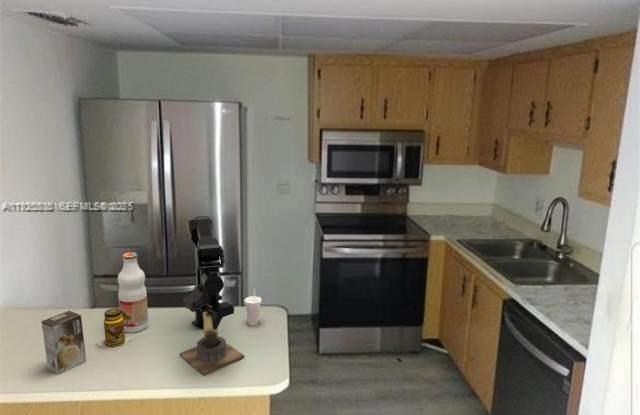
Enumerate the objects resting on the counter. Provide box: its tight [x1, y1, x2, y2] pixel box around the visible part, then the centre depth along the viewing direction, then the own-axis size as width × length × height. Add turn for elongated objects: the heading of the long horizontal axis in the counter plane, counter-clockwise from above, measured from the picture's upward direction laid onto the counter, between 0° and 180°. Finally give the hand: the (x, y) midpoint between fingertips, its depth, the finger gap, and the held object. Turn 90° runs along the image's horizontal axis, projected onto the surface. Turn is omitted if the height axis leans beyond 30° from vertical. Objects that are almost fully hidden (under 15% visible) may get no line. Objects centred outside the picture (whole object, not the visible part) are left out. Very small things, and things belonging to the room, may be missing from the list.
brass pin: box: [203, 308, 219, 340], centre depth 153 cm, size 4×4×9 cm
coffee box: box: [41, 310, 87, 375], centre depth 147 cm, size 9×6×16 cm
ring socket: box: [179, 336, 245, 376], centre depth 155 cm, size 15×15×5 cm
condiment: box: [96, 307, 132, 351], centre depth 162 cm, size 7×8×12 cm
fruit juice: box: [117, 251, 149, 334], centre depth 171 cm, size 9×9×28 cm
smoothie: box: [244, 288, 263, 327], centre depth 177 cm, size 6×6×14 cm
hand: (211, 326), depth 153 cm, fingers closed on brass pin, 4 cm apart
